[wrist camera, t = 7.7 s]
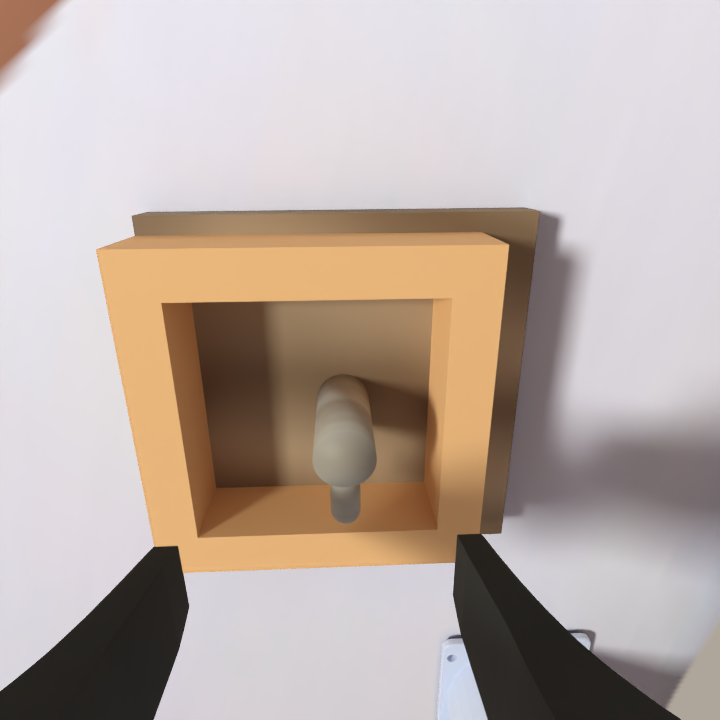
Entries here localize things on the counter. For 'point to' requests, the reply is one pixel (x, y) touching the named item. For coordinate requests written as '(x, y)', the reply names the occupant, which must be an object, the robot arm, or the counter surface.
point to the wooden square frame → (304, 283)
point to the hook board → (343, 363)
